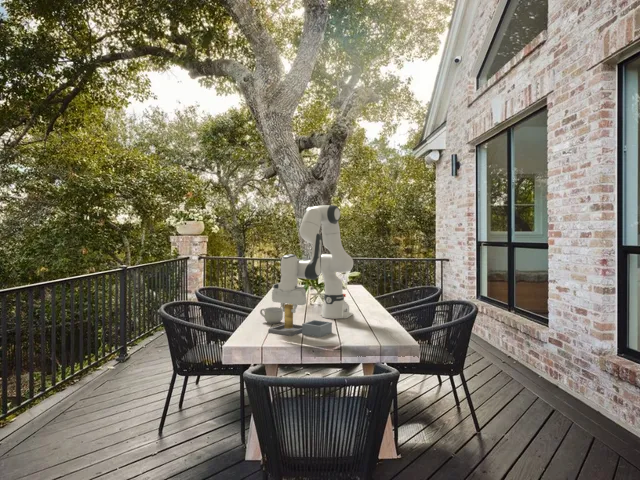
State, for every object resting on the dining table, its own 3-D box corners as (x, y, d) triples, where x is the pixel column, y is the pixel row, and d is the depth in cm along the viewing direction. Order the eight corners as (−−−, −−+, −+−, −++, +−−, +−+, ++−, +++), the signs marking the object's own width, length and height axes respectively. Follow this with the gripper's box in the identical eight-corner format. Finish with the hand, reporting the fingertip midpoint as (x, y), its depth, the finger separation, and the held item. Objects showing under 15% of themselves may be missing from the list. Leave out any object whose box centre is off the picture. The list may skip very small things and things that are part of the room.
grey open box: (313, 331, 214) (313, 319, 214) (331, 334, 208) (331, 322, 208) (302, 335, 205) (302, 323, 205) (320, 338, 199) (320, 326, 199)
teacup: (286, 322, 236) (286, 308, 236) (275, 325, 227) (275, 311, 227) (267, 319, 243) (267, 306, 243) (255, 322, 234) (256, 308, 234)
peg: (287, 326, 214) (288, 303, 214) (294, 327, 212) (294, 304, 211) (282, 327, 210) (282, 304, 210) (289, 329, 208) (289, 305, 208)
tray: (287, 327, 222) (287, 323, 222) (308, 331, 214) (308, 326, 214) (268, 333, 208) (268, 328, 208) (290, 337, 201) (290, 332, 201)
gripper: (308, 286, 208) (308, 313, 208) (277, 283, 219) (277, 309, 219) (301, 287, 203) (301, 315, 203) (270, 284, 213) (270, 311, 214)
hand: (288, 312), depth 211 cm, fingers closed on peg, 4 cm apart
